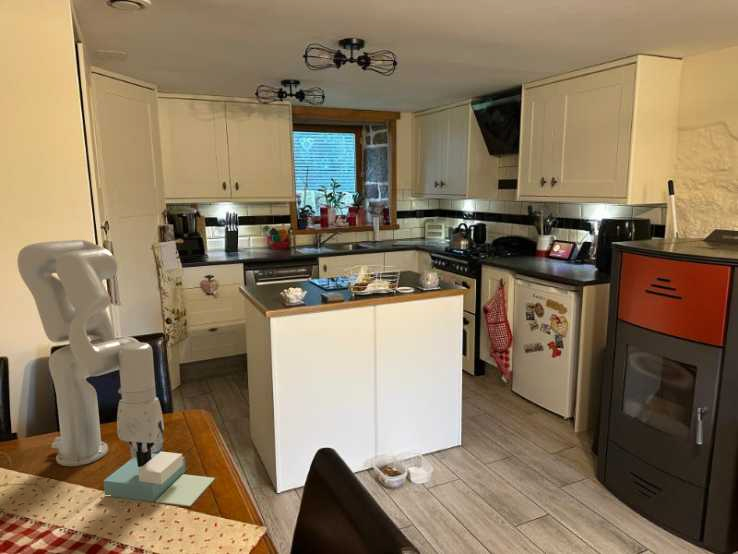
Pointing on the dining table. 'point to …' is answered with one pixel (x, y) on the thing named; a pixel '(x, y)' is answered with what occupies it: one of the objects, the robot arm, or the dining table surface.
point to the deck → (137, 482)
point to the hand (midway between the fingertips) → (144, 464)
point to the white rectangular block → (160, 467)
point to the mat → (185, 490)
